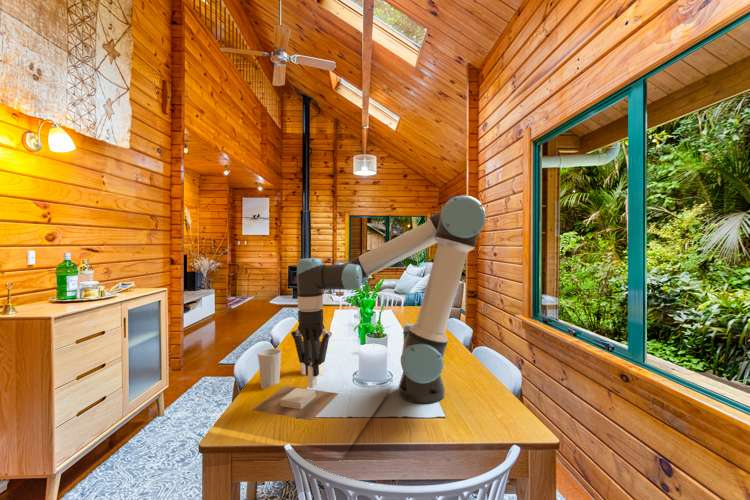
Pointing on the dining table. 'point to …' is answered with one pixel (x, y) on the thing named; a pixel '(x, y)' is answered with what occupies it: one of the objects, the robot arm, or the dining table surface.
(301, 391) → the tile
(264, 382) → the cup
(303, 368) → the jar
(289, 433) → the dining table surface
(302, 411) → the board
